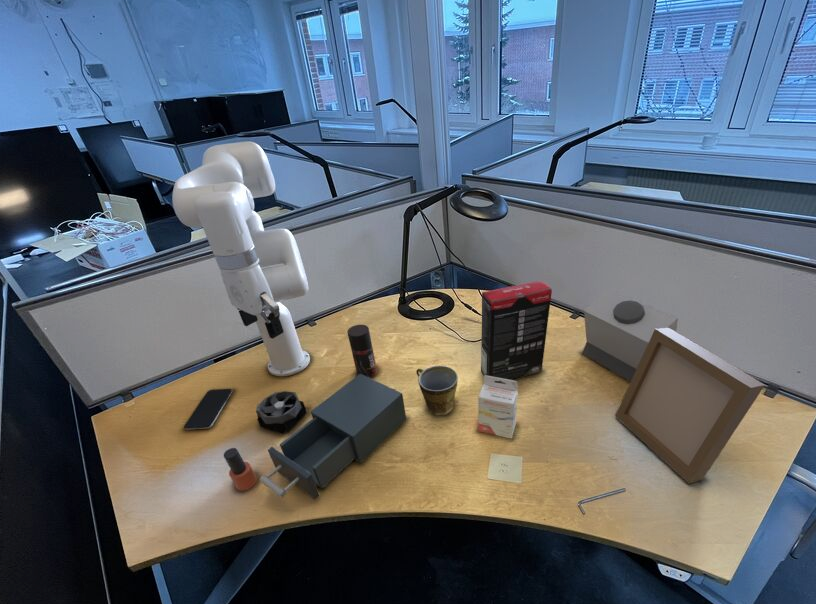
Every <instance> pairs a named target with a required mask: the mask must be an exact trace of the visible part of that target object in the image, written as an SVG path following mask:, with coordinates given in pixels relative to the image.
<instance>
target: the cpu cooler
mask: <svg viewBox="0 0 816 604" xmlns="http://www.w3.org/2000/svg"><path fill="white" fill-rule="evenodd" d="M255 413H256V415H257V416H256V417H257V418H256V420H257V422H258V425H259V426H260V428H262V429H265V430H269V431H271V432H275V433H279V434H282V435H284V434H285V433H290V431H291V430H292V429H293V428H294V427H295V426H296V425H297V423H299V421H301V420H302V419H303V418H304V416H305V415H306V414H307V408H306V406H305V403H304V401H303V400H300V399H299V397H298V395H297V392H295V391H287V390H283V391H275V392H274V393H272V394H270V395H268V396H266V397H265V398H263V400H262V401H261V402H260V403H258V404H256V409H255Z"/></svg>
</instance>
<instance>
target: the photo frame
mask: <svg viewBox="0 0 816 604" xmlns="http://www.w3.org/2000/svg"><path fill="white" fill-rule="evenodd" d="M629 382H630V381H629ZM765 386H766V384H765V383H763V382H761V381H759V380H758V379H756V378H754V377H752V376H750V374H748V373H746V372H744V371H743V370H741V369H739V368H737V366H736V367H735V366H734V365H732V363H731V364H730V363H729V362H728V361H726V360H724V359H723V358H721V357H719V356H717V355H716V354H714V353H712V352H711V351H709V350H707V349H705V348H704V347H702V346H700V345H699V344H697V343H696V342H694V341H692V340H691V339H689V338H687V337H686V336H684V335H682V334H680V333H679V332H677V331H676V332H675V331H673V330H672V329H670V328H659V329H655V330H654V332H653V334H652V337H651V339H650V341H649V343H648V345H647V347H646V350H645V352H644V354H643V356H642V358H641V360H640V363H639V365H638V367H637V369H636V371H635V373H634V376H633V378H632V380H631V382H630V383H629V385H628V387H627V388H626V391H625V393H624V395H623V398H622V400H621V402H620V404H619V406H618V408H617V410H616V413H615V416H614V417H615V418H616V419H618V421H620V422H621V423H622V424H623V425H624V426H625V427H626V428H627V429H628V430H630V432H632V433H633V434H634V435H635V436H636V437H637V438H638V439H639V440H640V441H641V442H642V443H644V444H645V445H646V446H647V447H648V448H649V449H651V451H652V452H654V453H655V454H656V455H657V456H658V457H659V458H660V459H661V460H662V461H664V462H665V464H667V465H668V466H669V467H670V468H671V469H672V470H674V472H676V473H677V474H678V476H680V477H681V478H682V479H683V480H684V481H685V482H687V483H688V484H693V483H695V482H698V481H702V480H704V478H705V477H706V475H707V474H708V472H709V470H710V469H711V467H712V466H713V465H714V464H715V461H716V460H717V459H718V457H719V455H721V452H722V451H723V450H724V449H725V447H726V445H727V443H728V442H729V440H730V439H731V437H732V436H733V435H734V433H735V432H736V430H737V428H738V427H739V425H740V424H741V422H742V421H743V419H744V418H745V416H746V415H747V413H748V412H749V410H750V408H751V407H752V406H753V404H754V403H755V401H756V400H757V398H758V397H759V396H760V394H761V392H762V391H763V390H764V387H765Z"/></svg>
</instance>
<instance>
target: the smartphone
mask: <svg viewBox="0 0 816 604" xmlns="http://www.w3.org/2000/svg"><path fill="white" fill-rule="evenodd" d="M232 393H233V389H232V388H220V389H219V388H218V389H209V390H208V391H206V393H205V395H204V396H203V397H202V399H201V400H200V402H199V403H198V405H197V406H196V408H195V409H194V410H193V412H192V414H191V415H190V417H189V418H188V420H187V421H186V422H185V424H184V425H183V428H184V430H187V431H188V430H189V431H192V430H206V429H207V430H208V429H210V428H212V427H213V425H214V423H215V422H216V420H217V419H218V417H219V415H220V414H221V412H222V411H223V409H224V407H225V405H226V404H227V402H228V400H229V398H230V397H231V396H232Z"/></svg>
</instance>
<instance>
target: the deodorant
mask: <svg viewBox="0 0 816 604" xmlns="http://www.w3.org/2000/svg"><path fill="white" fill-rule="evenodd" d="M346 334H347V338H348V341H349V347H350V350H351V354H352V359H353V363H354V367H355V371H356V376H358V375H359V374H362V375H364V376H367V377H369V378H372V377H374V376H375V375H377V373H378V369H377V364H376V358H375V354H374V348H373V343H372V338H371V333H370V328H369V326H368V325H366V324H355V325H352V326H350V327H348V329H347V333H346Z"/></svg>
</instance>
